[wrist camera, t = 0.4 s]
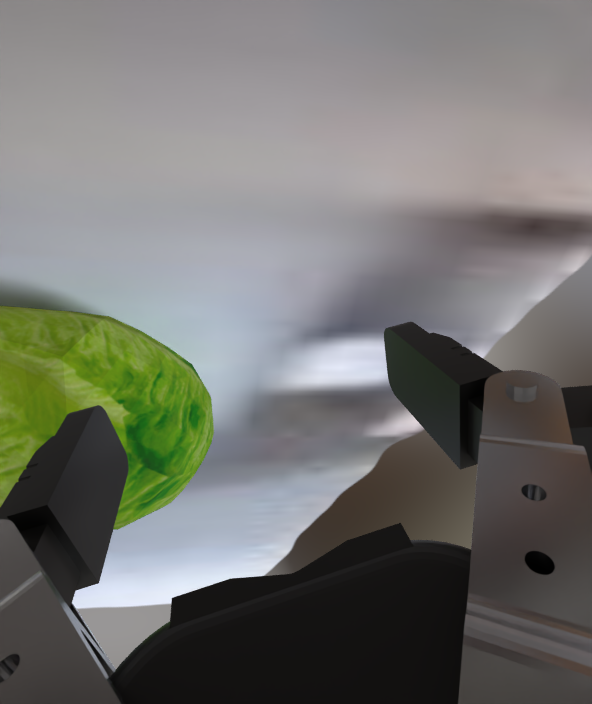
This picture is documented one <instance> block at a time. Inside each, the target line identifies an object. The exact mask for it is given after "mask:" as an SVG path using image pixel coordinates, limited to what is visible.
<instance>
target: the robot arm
mask: <svg viewBox="0 0 592 704" xmlns="http://www.w3.org/2000/svg"><path fill="white" fill-rule="evenodd" d="M384 342H385V351H386V361H387V371H388V379H389V383H390V386H391V388H392V391H393V393H394V394H395V396H396V397H397V398H398V399H399V400H400V402H401V403H402V404H403V405H404V406H405V407H406V408H407V409H408V411H409V412H410V413H411V414H412V415H413V416H414V417H415V419H416V420H417V421H418V422H419V423H420V424H421V425H422V427H423V428H424V429H425V430H426V431H427V432H428V433H429V434H430V436H431V437H432V438H433V439H434V440H435V441H436V442H437V444H438V445H439V446H440V447H441V448H442V449H443V450H444V452H445V453H446V454H447V455H448V456H449V457H450V458H451V460H453V462H454V463H455V464H456V465H457V466H458V468H459V469H463V468H466V467H470V466H473V465H476V464H478V467H477V480H476V494H475V507H474V521H473V533H472V546H471V550H470V549H468V548H465V547H462V546H458V545H454V544H450V543H446V542H439V541H430V540H410V539H409V537H408V535H407V534H406V532H405V530H404V528H403V526H402V525H401V523H399V524H396V525H393V526H390V527H387V528H383V529H381V530H377V531H374V532H371V533H368V534H365V535H362V536H359V537H357V538H354V539H350V540H347V541H345V542H344V543H342V544H341V545H339V546H337V547H336V548H334V549H333V550H331V551H329V552H328V553H326V554H325V555H323V556H321V557H320V558H318V559H317V560H315V561H314V562H312V563H310V564H309V565H307V566H306V567H304V568H302V569H301V570H299V571H297V572H295V573H292V574H286V575H273V576H259V577H246V578H233V579H228V580H225V581H222V582H219V583H216V584H213V585H210V586H207V587H204V588H201V589H198V590H195V591H192V592H189V593H186V594H183V595H180V596H177V597H174V598H172V605H171V618H170V622H168V623H167V624H165V625H164V626H162V627H161V628H160V629H158V630H157V631H155V632H154V633H153V634H151V635H150V636H149V637H148V638H147V639H145V640H144V641H143V642H142V643H141V644H140V645H139V646H138V647H137V648H135V649H134V650H133V652H132V653H131V654H130V655H129V656H128V657H127V658H126V659H125V660H124V661H123V662H122V663H121V664H120V665H119V667H118V668H117V669H115V668H114V666H113V665H112V663H111V661H110V660H109V658H108V657H107V655H106V654H105V652H104V651H103V649H102V648H101V646H100V644H99V643H98V641H97V640H96V638H95V637H94V635H93V634H92V632H91V631H90V629H89V627H88V626H87V624H86V623H85V621H84V620H83V618H82V617H81V615H80V614H79V612H78V610H77V609H76V608H75V606H74V605H73V604H72V600H73V597H74V594H75V591H76V590H79V589H82V588H85V587H88V586H91V585H94V584H98V583H99V581H100V577H101V573H102V569H103V566H104V562H105V558H106V554H107V550H108V547H109V543H110V539H111V535H112V532H113V528H114V524H115V520H116V517H117V513H118V509H119V505H120V502H121V498H122V494H123V490H124V487H125V483H126V479H127V475H128V469H129V466H128V458H127V454H126V451H125V449H124V447H123V445H122V443H121V441H120V439H119V437H118V435H117V433H116V431H115V429H114V427H113V425H112V423H111V421H110V419H109V417H108V415H107V413H106V411H105V410H104V408H103V407H102V406H100V405H97V406H93V407H90V408H86V409H82V410H79V411H75V412H71V413H69V414H67V416H66V417H65V419H64V421H63V422H62V424H61V426H60V428H59V429H58V431H57V433H56V434H55V436H52V437H51V438H50V439H49V440H48V441H46V442H45V443H44V444H43V445H42V446H41V447H40V448H39V449H38V450H37V451H36V452H35V453H34V455H33V456H32V458H31V459H30V461H29V463H28V464H27V466H26V469H25V470H23V472H22V474H21V475H20V477H19V478H18V481H19V482H16V483H15V485H14V486H13V488H12V490H11V491H10V493H9V494H8V496H7V498H6V499H5V501H4V502H3V504H2V505H1V507H0V704H592V386H579V387H567V388H561V387H560V385H559V384H558V383H557V382H556V381H554V380H553V379H551V378H549V377H547V376H545V375H542V374H539V373H536V372H531V371H522V370H511V371H504V372H503V371H501V370H500V369H498V368H497V367H495V366H493V365H492V364H490V363H489V362H487V361H486V360H484V359H483V358H481V357H480V356H478V355H477V354H475V353H473V354H472V351H470V350H469V349H467V348H466V347H462V345H461V344H459V343H458V342H456V341H455V340H453V339H452V338H450V337H447V336H443V335H440V334H436V333H430V334H429V333H428V332H426V331H425V330H424V329H422V328H421V327H419V326H418V325H416V324H415V323H413V322H407V323H404V324H400V325H396V326H392V327H389V328H386V329H385V331H384Z"/></svg>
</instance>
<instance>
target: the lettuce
mask: <svg viewBox="0 0 592 704" xmlns="http://www.w3.org/2000/svg"><path fill="white" fill-rule="evenodd" d="M97 405H100V406H102V407H103V408H104V410H105V411H106V413H107V415H108V417H109V419H110V421H111V423H112V425H113V427H114V429H115V431H116V433H117V435H118V437H119V439H120V441H121V443H122V445H123V447H124V449H125V451H126V454H127V458H128V466H129V469H128V475H127V479H126V483H125V487H124V490H123V494H122V498H121V502H120V505H119V509H118V513H117V517H116V520H115V524H114V528H113V529H117V530H118V529H120V528H122V527H124V526H126V525H128V524H130V523H132V522H134V521H136V520H138V519H140V518H142V517H144V516H146V515H148V514H150V513H152V512H154V511H156V510H158V509H160V508H162V507H164V506H166V505H167V504H169V503H171V502H172V501H173V500H174V499H175V498H176V497H177V496H178V495H179V494H180V493H181V492H182V491H183V489H184V488H185V487H186V485H187V484H188V483H189V481H190V480H191V479H192V477H193V476H194V474H195V473H196V471H197V469H198V468H199V466H200V465H201V463H202V461H203V460H204V458H205V456H206V453H207V451H208V449H209V447H210V445H211V442H212V438H213V433H214V427H213V416H212V404H211V397H210V395H209V393H208V391H207V389H206V387H205V386H204V384H203V382H202V381H201V379H200V377H199V376H198V374H197V372H196V371H195V369H194V367H193V365H192V364H191V363H189V362H188V361H186V360H185V359H184V358H182V357H181V356H179V355H178V354H177V353H175V352H174V351H172V350H171V349H170V348H168V347H166V346H165V345H163V344H162V343H160V342H158V341H157V340H155V339H153V338H152V337H150V336H148V335H147V334H145V333H143V332H142V331H140V330H138V329H135V328H133V327H131V326H129V325H127V324H125V323H122V322H120V321H118V320H116V319H114V318H111V317H109V316H102V315H94V314H86V313H79V312H71V311H55V310H44V309H33V308H22V307H9V306H0V507H1V505H2V504H3V502H4V501H5V499H6V498H7V496H8V494H9V493H10V491H11V490H12V488H13V486H14V485H15V483H16V482H19V481H18V478H19V477H20V475H21V474H22V472H23V470H25V469H26V466H27V464H28V463H29V461H30V459H31V458H32V456H33V455H34V453H35V452H36V451H37V450H38V449H39V448H40V447H41V446H42V445H43V444H44V443H45V442H46V441H48V440H49V439H50V438H51V437H52V436H55V434H56V433H57V431H58V429H59V428H60V426H61V424H62V422H63V421H64V419H65V417H66V416H67V414H69V413H71V412H75V411H79V410H82V409H86V408H90V407H93V406H97Z"/></svg>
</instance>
